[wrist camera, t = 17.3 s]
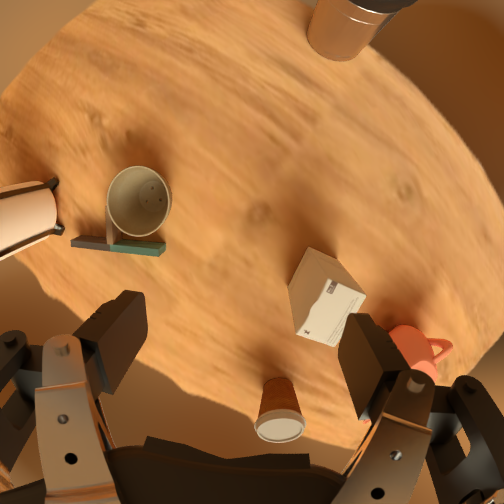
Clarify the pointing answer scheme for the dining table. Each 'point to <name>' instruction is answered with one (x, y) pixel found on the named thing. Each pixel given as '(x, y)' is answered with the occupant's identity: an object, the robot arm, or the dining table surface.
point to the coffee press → (27, 215)
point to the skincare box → (322, 297)
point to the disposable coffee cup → (279, 413)
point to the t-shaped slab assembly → (118, 242)
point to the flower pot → (139, 200)
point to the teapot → (419, 349)
